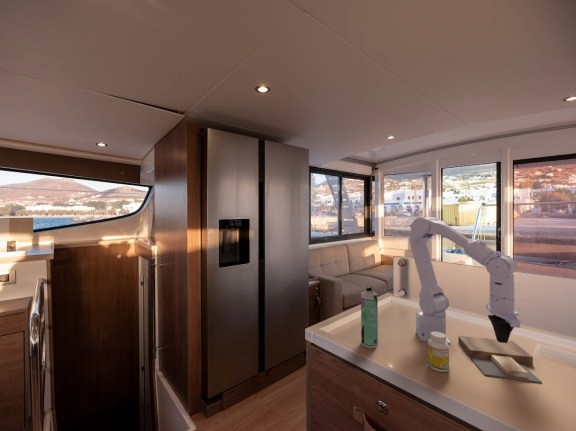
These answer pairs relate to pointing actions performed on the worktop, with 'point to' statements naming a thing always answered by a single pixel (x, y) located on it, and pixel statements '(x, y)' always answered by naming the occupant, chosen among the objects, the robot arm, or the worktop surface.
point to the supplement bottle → (438, 352)
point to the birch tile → (509, 366)
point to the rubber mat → (494, 371)
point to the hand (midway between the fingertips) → (502, 341)
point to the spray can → (369, 318)
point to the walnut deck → (494, 349)
